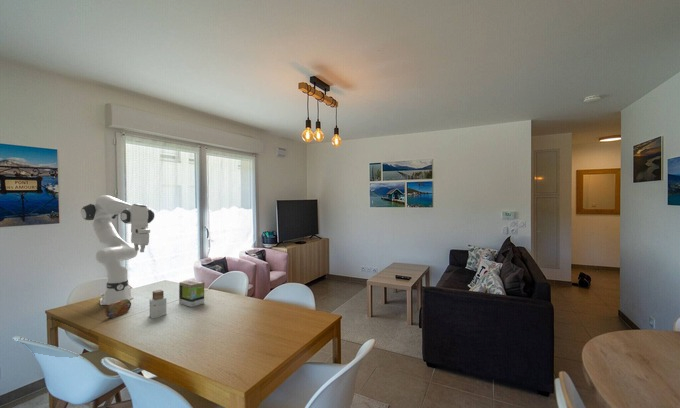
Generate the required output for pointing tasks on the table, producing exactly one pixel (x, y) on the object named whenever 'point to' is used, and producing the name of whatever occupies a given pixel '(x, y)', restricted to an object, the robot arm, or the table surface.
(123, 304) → the tin
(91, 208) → the robot arm
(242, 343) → the table surface
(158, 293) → the walnut cube
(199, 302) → the tea box
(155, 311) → the small box
